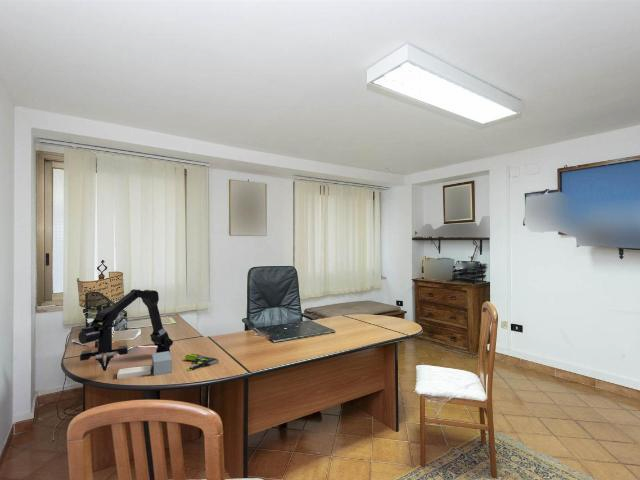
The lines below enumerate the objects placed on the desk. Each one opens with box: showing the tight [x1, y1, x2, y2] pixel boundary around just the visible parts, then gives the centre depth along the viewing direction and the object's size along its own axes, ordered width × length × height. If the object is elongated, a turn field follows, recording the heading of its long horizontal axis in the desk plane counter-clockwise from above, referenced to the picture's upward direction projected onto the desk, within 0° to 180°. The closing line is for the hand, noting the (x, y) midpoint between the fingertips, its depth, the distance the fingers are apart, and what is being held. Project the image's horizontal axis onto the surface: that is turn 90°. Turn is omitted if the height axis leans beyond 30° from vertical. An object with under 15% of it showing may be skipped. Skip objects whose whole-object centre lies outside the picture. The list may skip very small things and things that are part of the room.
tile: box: [116, 364, 152, 380], centre depth 163 cm, size 14×7×2 cm, turn 113°
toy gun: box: [184, 353, 219, 372], centre depth 175 cm, size 20×4×15 cm
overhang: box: [151, 351, 173, 376], centre depth 169 cm, size 8×14×6 cm, turn 30°
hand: (104, 370), depth 157 cm, fingers closed
